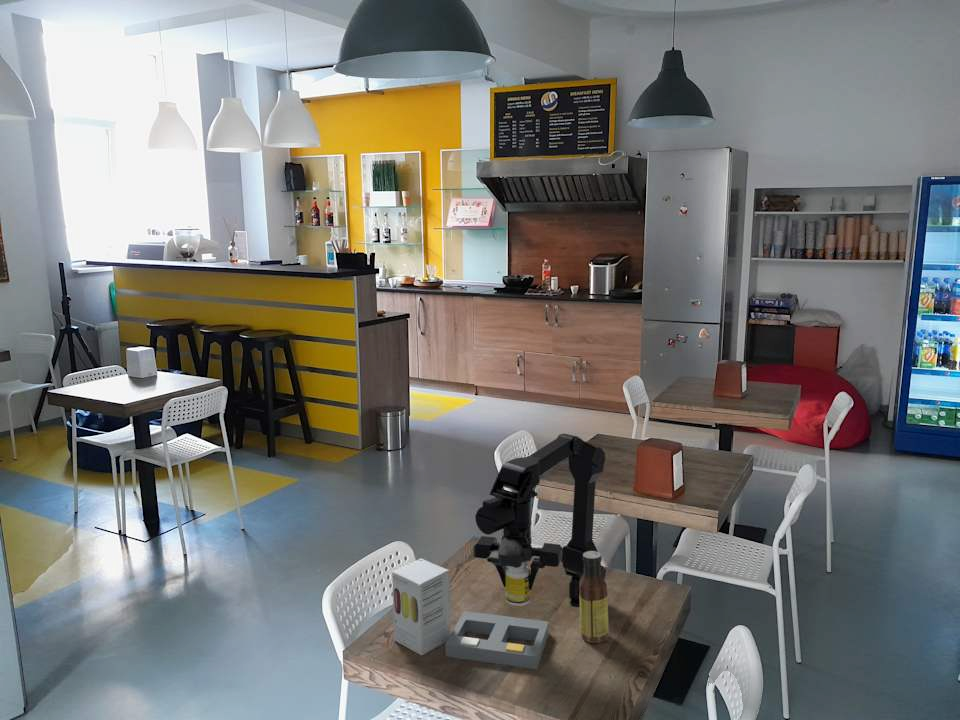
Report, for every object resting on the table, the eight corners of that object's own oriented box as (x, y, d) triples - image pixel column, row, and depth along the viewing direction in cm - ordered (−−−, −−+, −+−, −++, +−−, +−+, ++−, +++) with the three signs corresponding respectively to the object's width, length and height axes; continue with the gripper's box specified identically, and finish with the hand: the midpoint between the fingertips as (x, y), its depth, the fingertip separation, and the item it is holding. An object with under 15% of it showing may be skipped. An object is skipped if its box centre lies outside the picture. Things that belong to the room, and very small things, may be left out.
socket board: (548, 633, 166) (548, 620, 166) (536, 669, 153) (536, 654, 152) (464, 622, 172) (463, 609, 171) (445, 656, 158) (445, 642, 158)
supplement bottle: (528, 607, 158) (527, 565, 156) (503, 605, 159) (502, 563, 157) (532, 595, 163) (531, 554, 161) (508, 593, 164) (507, 552, 163)
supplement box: (393, 641, 165) (389, 571, 162) (422, 624, 171) (420, 556, 168) (422, 656, 158) (419, 584, 155) (452, 638, 165) (450, 569, 162)
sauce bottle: (610, 632, 166) (611, 550, 163) (605, 647, 161) (606, 562, 157) (581, 627, 169) (582, 546, 165) (576, 642, 163) (576, 558, 159)
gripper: (465, 529, 153) (466, 599, 155) (553, 539, 148) (553, 611, 150) (480, 510, 163) (481, 576, 166) (563, 519, 158) (562, 586, 161)
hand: (517, 587), depth 160 cm, fingers closed on supplement bottle, 5 cm apart
